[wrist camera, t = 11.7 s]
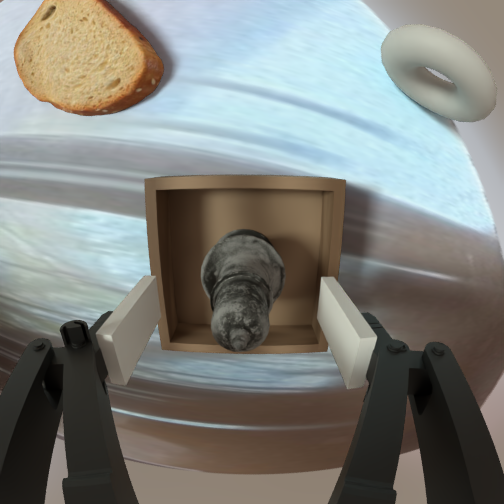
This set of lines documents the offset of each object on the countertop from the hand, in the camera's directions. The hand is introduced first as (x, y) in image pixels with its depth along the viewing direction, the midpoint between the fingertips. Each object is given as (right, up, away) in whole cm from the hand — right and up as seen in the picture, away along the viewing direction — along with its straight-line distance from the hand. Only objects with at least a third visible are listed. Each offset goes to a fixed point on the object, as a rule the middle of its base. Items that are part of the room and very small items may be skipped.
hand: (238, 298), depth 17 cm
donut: (+15, +18, +3) cm, 23 cm away
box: (0, +2, +7) cm, 8 cm away
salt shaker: (0, +2, +7) cm, 7 cm away
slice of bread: (-16, +23, +2) cm, 28 cm away
